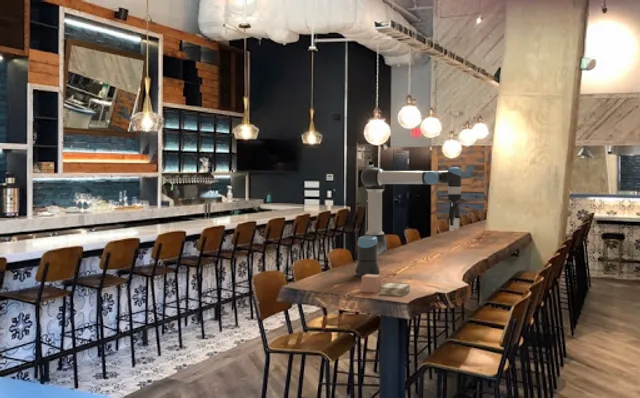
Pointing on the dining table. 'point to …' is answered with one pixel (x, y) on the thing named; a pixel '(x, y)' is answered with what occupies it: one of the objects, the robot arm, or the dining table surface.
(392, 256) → the dining table surface
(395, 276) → the dining table surface
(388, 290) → the mottled grey-green square block
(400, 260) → the dining table surface
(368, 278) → the terracotta cube
